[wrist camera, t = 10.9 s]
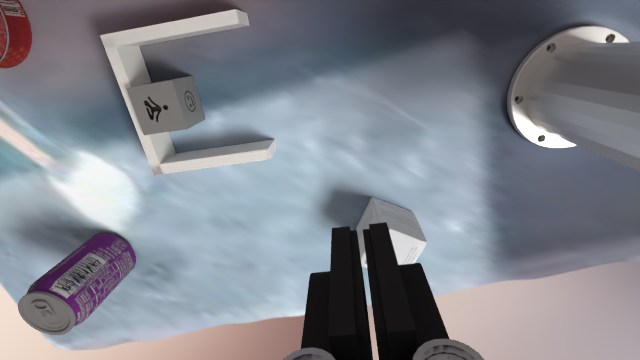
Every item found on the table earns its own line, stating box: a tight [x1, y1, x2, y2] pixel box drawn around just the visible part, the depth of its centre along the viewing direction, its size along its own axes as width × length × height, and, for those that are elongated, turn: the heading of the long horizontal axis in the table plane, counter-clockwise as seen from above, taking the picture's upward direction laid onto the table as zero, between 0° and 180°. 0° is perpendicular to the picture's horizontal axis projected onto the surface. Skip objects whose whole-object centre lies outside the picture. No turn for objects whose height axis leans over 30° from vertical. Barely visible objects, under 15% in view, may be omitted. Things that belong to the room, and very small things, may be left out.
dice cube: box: [126, 76, 205, 135], centre depth 35 cm, size 5×5×5 cm
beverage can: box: [18, 234, 136, 335], centre depth 41 cm, size 7×7×12 cm
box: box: [100, 9, 277, 175], centre depth 35 cm, size 14×15×4 cm
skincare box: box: [356, 197, 427, 268], centre depth 39 cm, size 6×6×7 cm
